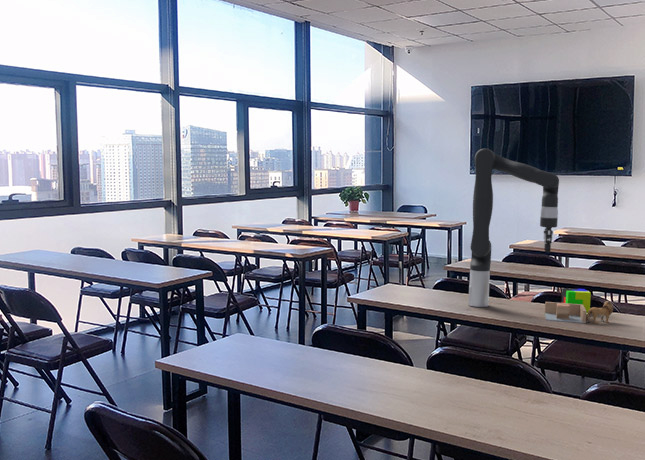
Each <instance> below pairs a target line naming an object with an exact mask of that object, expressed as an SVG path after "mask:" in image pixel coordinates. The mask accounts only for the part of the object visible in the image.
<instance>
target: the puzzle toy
mask: <svg viewBox="0 0 645 460" xmlns="http://www.w3.org/2000/svg"><path fill="white" fill-rule="evenodd" d="M591 295H592V294H591V291H588V290H587V289H585V288H567V287H566V288H565V287H562V288H561V303H568V304H582V305H583V306H584V308H585V309H586V313H588V311H589V310H590V308H591V297H592V296H591Z"/></svg>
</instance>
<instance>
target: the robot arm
mask: <svg viewBox="0 0 645 460" xmlns="http://www.w3.org/2000/svg"><path fill="white" fill-rule="evenodd" d="M474 168H475V169H474V170H475V171H474V172H475V173H474V174H475V181H474V187H473V197H472V222H473V223H472V225H473V227H472V234H471V235H472V236H471V242H470V250H471V257H470V258H471V260H470V267H469V268H470V269H469V285H468V302H467V303H468V304H467V305H468V306H470V307H476V308H485V307H486V308H487V307H489V302H490V301H489V299H490V298H489V297H490V277H491V275H490V273H491V272H490V271H491V270H490V269H491V262H492V260H491V259H492V242H491V240H490V225H491V220H492V215H493V208H494V207H493V206H494V192H493V181H492V173H493V170H494V171H495V170H496V171H500V172H504V173H506V174H508V175H510V176H513V177H515V178H518V179H521V180H523V181H526V182H528V183H532V184H536V185H539V186H541V187H542V196H541V208H540V216H539V217H540V218H539V219H540V220H539V221H540V222H539V226H540V227H541V228H544V230H543V240H544V241H543V242H544V251H545V253H547V254H548V253H549V254H550V253H551V249H552V248H551V247H552V243H553V235H554V231H553V230H552V228H557V227H558V217H559V216H558V215H559V208H558V206H559V205H558V204H559V197H558V196H559V185H560V179H559V177H558V175H556V174H555V173H552V172H549V171H545V170H543V169H542V170H541V169H539V168H537V167H536V166H535V167H534V166H531V165H529V164H526V163H522V162H519V161H516V160H511V159H508V158H506V157H503V156H501V155H499V154H497V153H495V152H494V151H493V150H491V149H490V148H481V149H478V151H477V152H476V153H475V155H474Z"/></svg>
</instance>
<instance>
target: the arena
mask: <svg viewBox="0 0 645 460" xmlns="http://www.w3.org/2000/svg"><path fill="white" fill-rule="evenodd" d="M557 303H558V302H552V301H545V303H544V316H545V321H550V322H551V321H553V322H565V323H577V324H578V323H579V324H587V322H586V317H587V314H586V309H585V308H584V306H583V305H582V304H569V306H570V309H569V320H568V319H557V318H556V309H557ZM564 304H568V303H564Z"/></svg>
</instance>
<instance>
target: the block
mask: <svg viewBox="0 0 645 460" xmlns="http://www.w3.org/2000/svg"><path fill="white" fill-rule="evenodd" d="M556 303H557V309H556V318H557V319H568V320H569V309H570V306H569V304H564V303H562V302H556Z"/></svg>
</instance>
